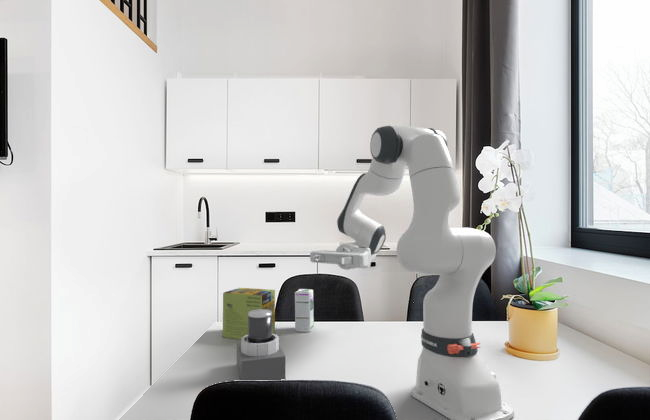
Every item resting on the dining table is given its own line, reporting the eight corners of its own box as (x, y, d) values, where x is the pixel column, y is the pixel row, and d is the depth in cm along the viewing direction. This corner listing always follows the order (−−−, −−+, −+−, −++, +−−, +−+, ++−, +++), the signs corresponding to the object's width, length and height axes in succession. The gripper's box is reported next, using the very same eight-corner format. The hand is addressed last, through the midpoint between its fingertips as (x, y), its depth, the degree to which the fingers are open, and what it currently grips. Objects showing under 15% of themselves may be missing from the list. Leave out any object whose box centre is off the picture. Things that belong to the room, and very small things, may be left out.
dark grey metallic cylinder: (274, 352, 100) (274, 313, 100) (249, 354, 98) (249, 316, 98) (270, 344, 106) (270, 308, 106) (246, 346, 104) (246, 310, 104)
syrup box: (310, 332, 136) (310, 292, 136) (294, 331, 137) (294, 291, 137) (314, 328, 142) (314, 289, 142) (298, 327, 143) (298, 288, 143)
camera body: (285, 379, 97) (285, 344, 97) (241, 385, 93) (241, 349, 93) (275, 360, 110) (275, 328, 110) (236, 364, 106) (236, 332, 107)
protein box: (262, 342, 126) (262, 295, 126) (222, 337, 131) (222, 292, 131) (275, 332, 136) (275, 289, 136) (237, 328, 141) (238, 287, 141)
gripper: (322, 245, 136) (299, 248, 124) (374, 248, 125) (355, 251, 113) (322, 263, 136) (299, 267, 124) (374, 267, 125) (355, 272, 113)
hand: (326, 260), depth 119 cm, fingers open, 8 cm apart
